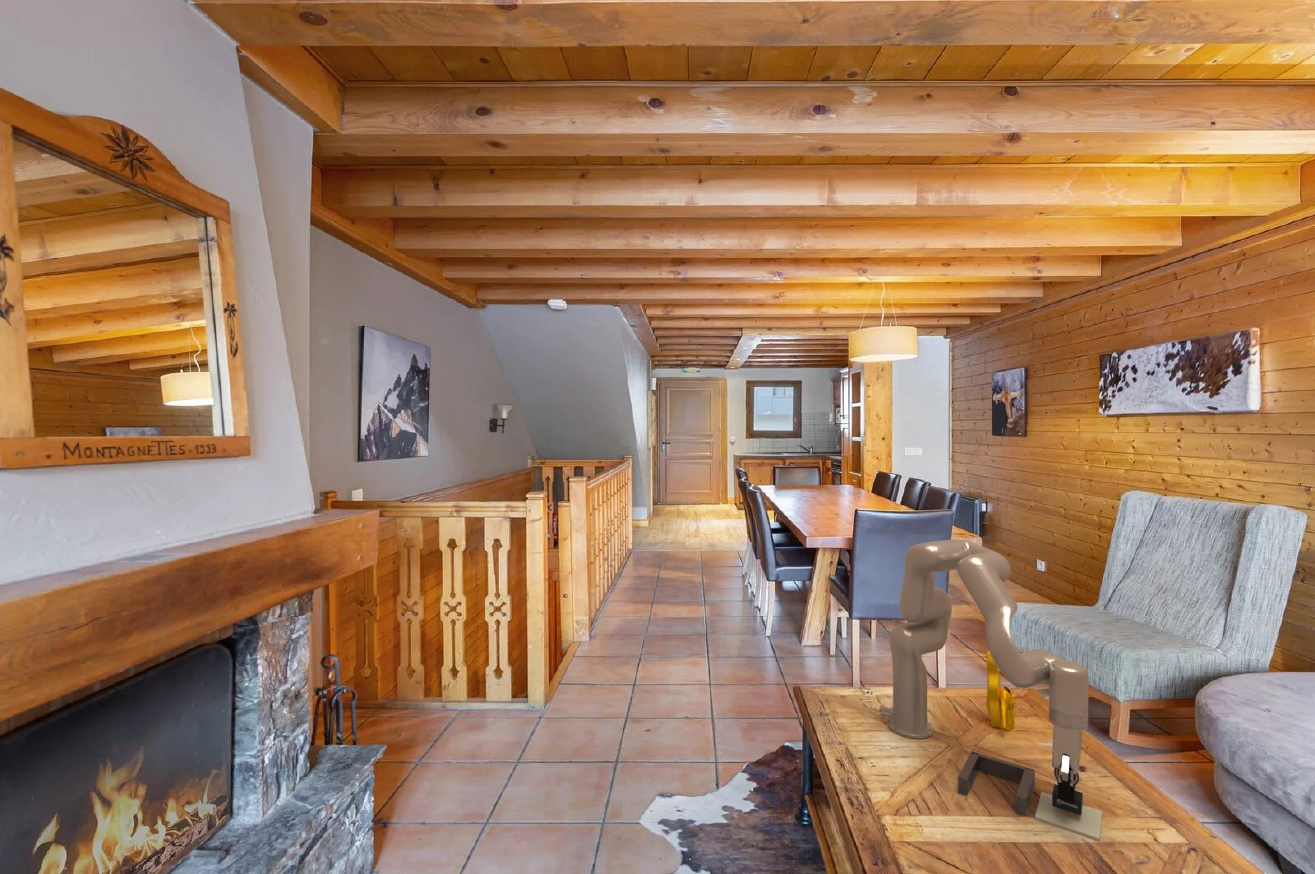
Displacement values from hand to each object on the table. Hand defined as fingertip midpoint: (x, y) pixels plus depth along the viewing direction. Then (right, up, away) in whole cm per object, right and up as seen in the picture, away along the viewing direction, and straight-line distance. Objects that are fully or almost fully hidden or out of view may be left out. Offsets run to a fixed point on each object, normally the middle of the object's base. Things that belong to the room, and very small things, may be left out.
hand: (1067, 790), depth 139 cm
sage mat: (0, -6, 0) cm, 6 cm away
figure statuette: (+9, -5, +43) cm, 44 cm away
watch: (0, -4, 0) cm, 4 cm away
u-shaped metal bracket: (-11, -6, +11) cm, 16 cm away
